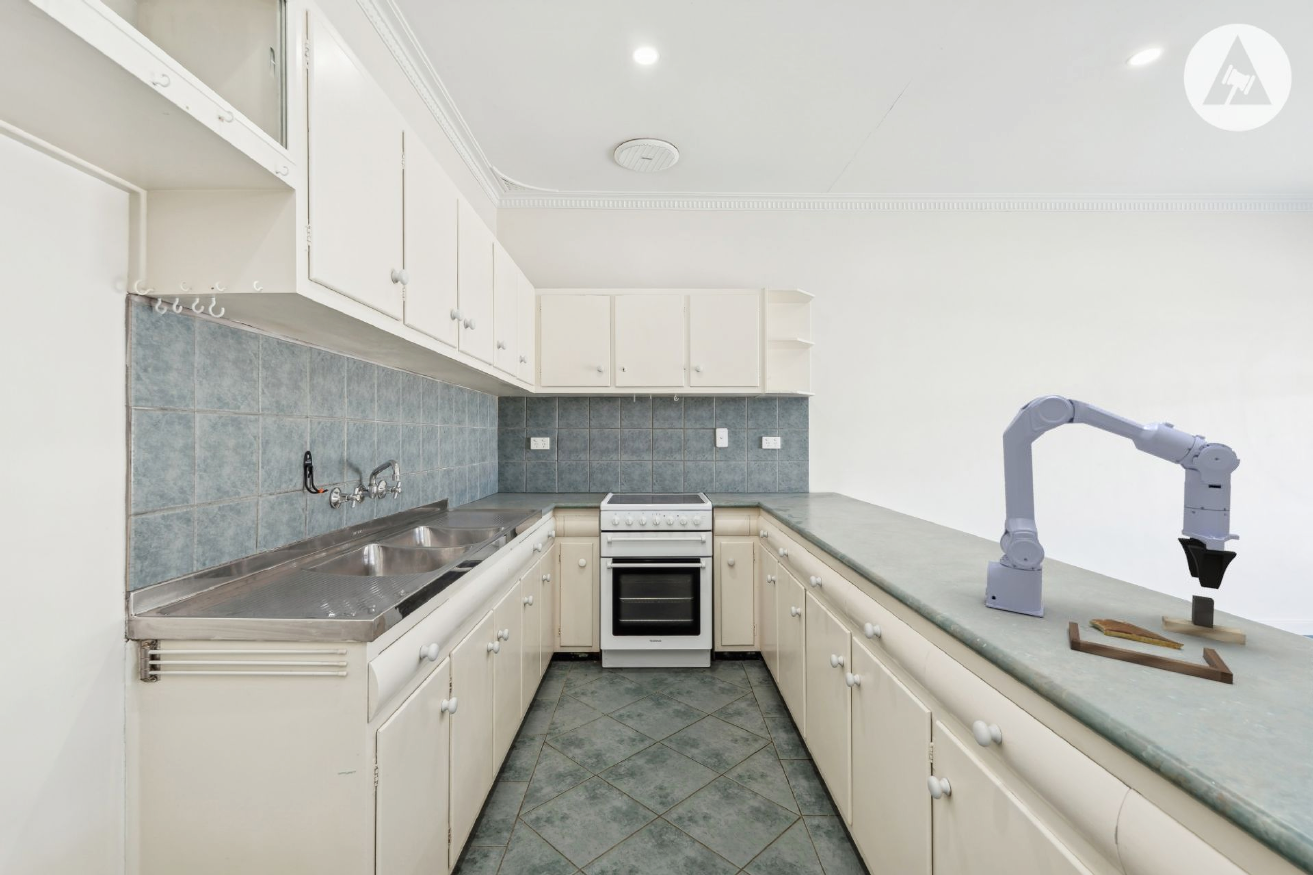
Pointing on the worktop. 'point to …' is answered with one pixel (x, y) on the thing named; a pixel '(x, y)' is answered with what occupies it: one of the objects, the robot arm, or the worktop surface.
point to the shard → (1132, 633)
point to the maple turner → (1203, 623)
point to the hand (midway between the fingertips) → (1204, 582)
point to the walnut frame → (1156, 658)
